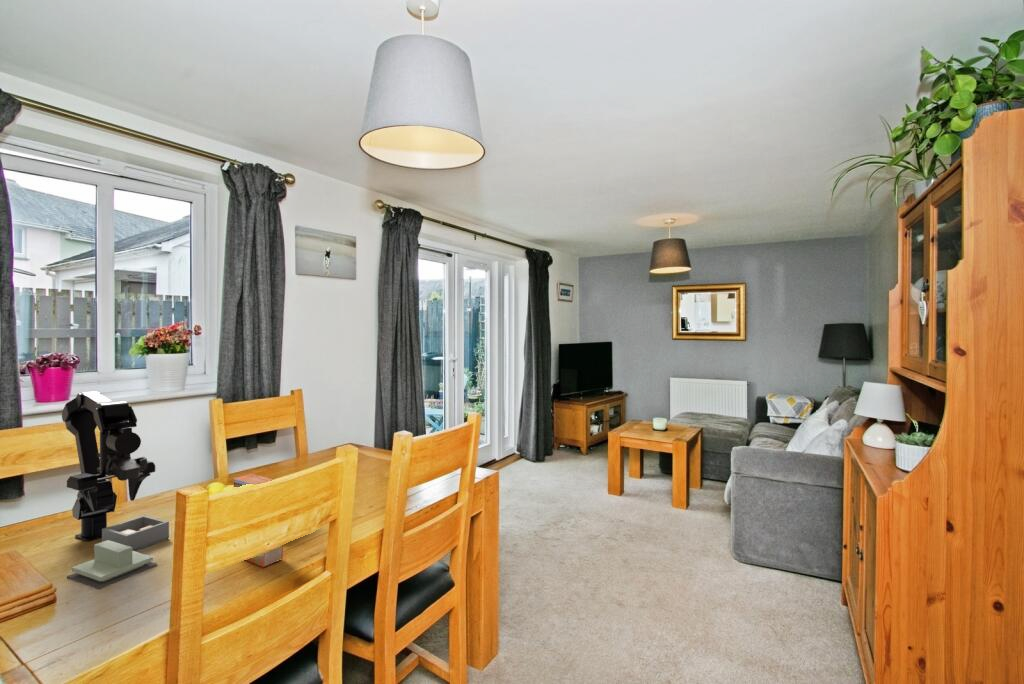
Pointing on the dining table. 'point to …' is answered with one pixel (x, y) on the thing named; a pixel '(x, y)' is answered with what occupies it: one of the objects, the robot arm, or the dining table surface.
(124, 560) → the lid
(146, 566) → the mat
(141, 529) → the storage box
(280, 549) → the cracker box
